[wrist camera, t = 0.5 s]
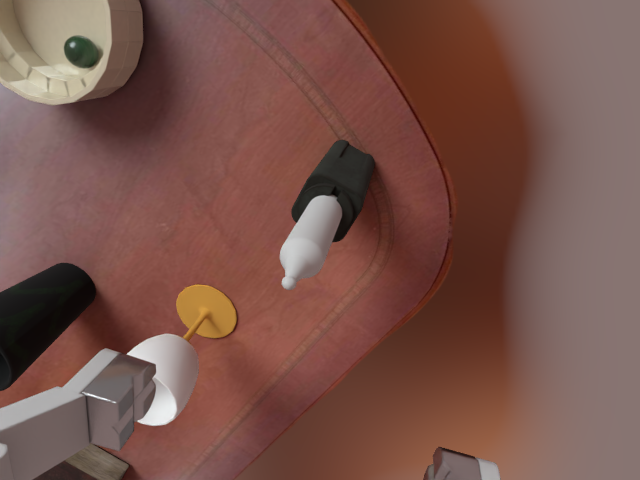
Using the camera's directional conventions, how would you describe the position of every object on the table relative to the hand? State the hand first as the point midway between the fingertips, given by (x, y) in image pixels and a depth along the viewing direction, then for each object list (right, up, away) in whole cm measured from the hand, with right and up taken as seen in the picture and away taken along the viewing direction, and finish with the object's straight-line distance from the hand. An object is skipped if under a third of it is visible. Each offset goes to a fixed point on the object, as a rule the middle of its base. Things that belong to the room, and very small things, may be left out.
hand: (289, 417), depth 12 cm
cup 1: (-36, -2, +50) cm, 62 cm away
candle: (+4, +13, +34) cm, 37 cm away
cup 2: (-15, -5, +47) cm, 50 cm away
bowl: (-26, +29, +33) cm, 51 cm away
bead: (-24, +25, +32) cm, 47 cm away
